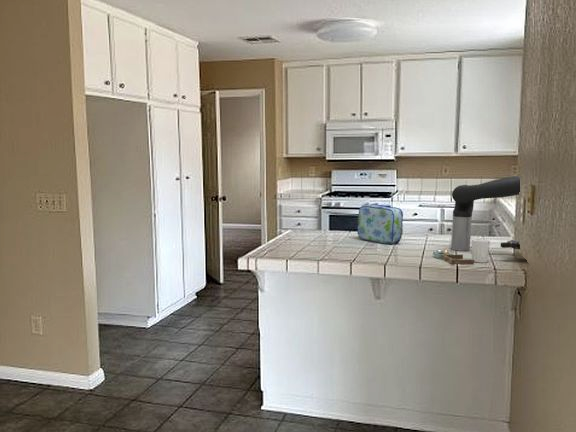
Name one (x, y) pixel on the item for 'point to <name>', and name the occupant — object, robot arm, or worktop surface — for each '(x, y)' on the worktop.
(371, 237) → the lunch box
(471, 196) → the robot arm
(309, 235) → the worktop surface
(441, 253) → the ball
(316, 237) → the worktop surface
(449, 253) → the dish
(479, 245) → the white cup
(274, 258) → the worktop surface
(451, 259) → the cradle
